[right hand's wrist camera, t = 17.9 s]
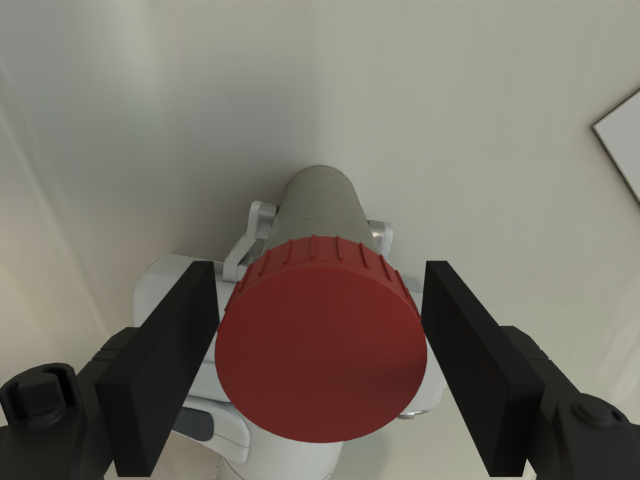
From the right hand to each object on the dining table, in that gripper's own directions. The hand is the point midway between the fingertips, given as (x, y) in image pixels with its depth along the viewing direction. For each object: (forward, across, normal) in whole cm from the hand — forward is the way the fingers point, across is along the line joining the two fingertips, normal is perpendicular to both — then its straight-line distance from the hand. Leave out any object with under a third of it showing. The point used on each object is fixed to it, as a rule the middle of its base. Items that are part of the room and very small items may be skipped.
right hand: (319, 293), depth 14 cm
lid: (-4, 0, 0) cm, 4 cm away
